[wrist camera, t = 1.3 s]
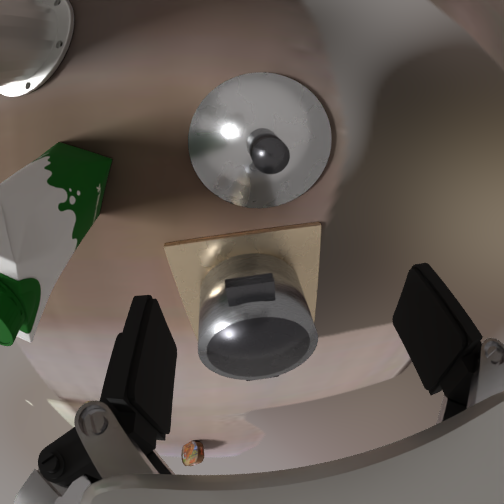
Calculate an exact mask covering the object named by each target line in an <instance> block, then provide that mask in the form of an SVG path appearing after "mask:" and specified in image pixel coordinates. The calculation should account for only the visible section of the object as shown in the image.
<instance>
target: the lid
mask: <svg viewBox="0 0 504 504" xmlns="http://www.w3.org/2000/svg"><path fill="white" fill-rule="evenodd" d="M331 139H332V138H331V128H330V123H329V120H328V117H327V114H326V112H325V110H324V108H323V106H322V105H321V103H320V102H319V100H318V99H317V98H316V97H315V95H314V94H313V93H312V92H311V91H310V90H308V89H307V88H306V87H305V86H303V85H302V84H300V83H298V82H297V81H295V80H293V79H291V78H288V77H286V76H282V75H279V74H274V73H266V72H259V73H249V74H244V75H240V76H237V77H234V78H232V79H229V80H227V81H225V82H224V83H222V84H220V85H219V86H217V87H216V88H215V89H214V90H212V91H211V92H210V93H209V94H208V95H207V96H206V97H205V98H204V100H203V101H202V102H201V104H200V105H199V107H198V108H197V110H196V112H195V114H194V116H193V119H192V122H191V125H190V129H189V135H188V148H189V155H190V159H191V162H192V165H193V167H194V170H195V172H196V173H197V175H198V177H199V178H200V180H201V181H202V182H203V184H204V185H205V186H206V187H207V188H208V189H209V190H210V191H211V192H213V193H214V194H215V195H217V196H218V197H220V198H222V199H223V200H225V201H227V202H230V203H232V204H235V205H238V206H242V207H248V208H268V207H274V206H278V205H281V204H285V203H287V202H289V201H291V200H293V199H295V198H297V197H299V196H300V195H302V194H303V193H304V192H306V191H307V190H308V189H309V188H310V187H311V186H312V185H313V184H314V183H315V182H316V181H317V179H318V178H319V177H320V175H321V173H322V172H323V170H324V168H325V166H326V164H327V161H328V158H329V155H330V150H331Z"/></svg>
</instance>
